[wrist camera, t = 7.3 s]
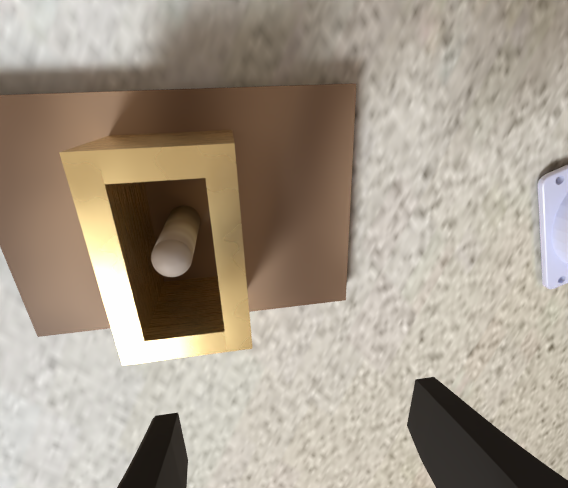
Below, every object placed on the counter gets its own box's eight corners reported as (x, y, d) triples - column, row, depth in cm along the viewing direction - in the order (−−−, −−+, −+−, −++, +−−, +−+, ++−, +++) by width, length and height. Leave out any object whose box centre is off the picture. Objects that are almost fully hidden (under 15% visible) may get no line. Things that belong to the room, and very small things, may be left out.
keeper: (348, 84, 15) (411, 78, 10) (340, 290, 20) (380, 359, 15) (-42, 97, 13) (-214, 98, 8) (47, 324, 18) (-27, 418, 13)
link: (108, 135, 14) (58, 152, 10) (232, 129, 14) (234, 143, 10) (147, 300, 17) (122, 365, 13) (246, 290, 18) (252, 348, 14)
